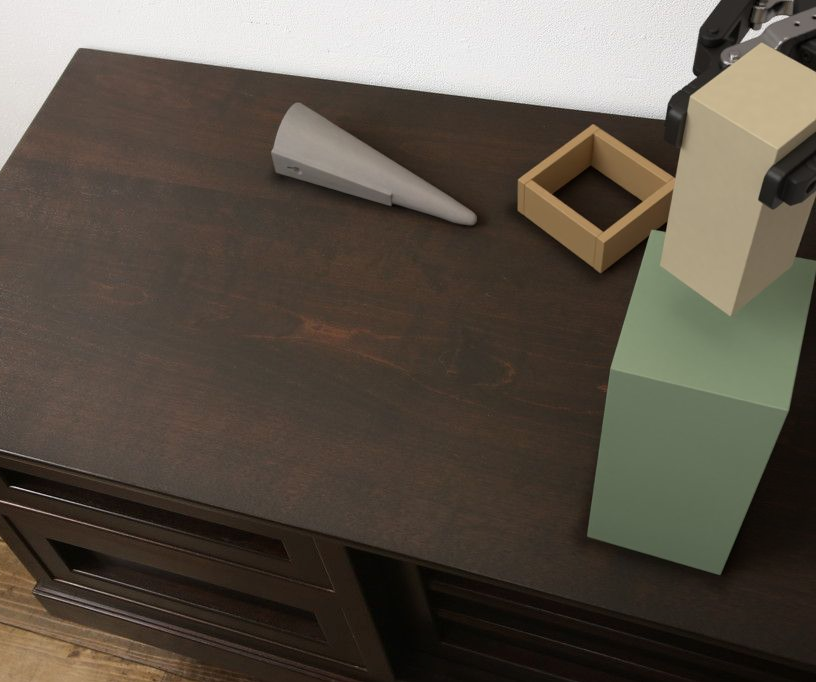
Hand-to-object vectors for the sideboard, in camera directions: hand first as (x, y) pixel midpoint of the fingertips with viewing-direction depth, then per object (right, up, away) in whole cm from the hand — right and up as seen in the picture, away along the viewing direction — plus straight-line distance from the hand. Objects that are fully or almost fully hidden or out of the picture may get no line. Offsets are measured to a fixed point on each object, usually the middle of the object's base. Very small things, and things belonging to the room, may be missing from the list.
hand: (719, 160), depth 47 cm
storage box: (+7, +3, +45) cm, 45 cm away
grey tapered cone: (-11, +6, +50) cm, 52 cm away
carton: (+4, -4, +9) cm, 10 cm away
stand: (+8, -19, +30) cm, 36 cm away
